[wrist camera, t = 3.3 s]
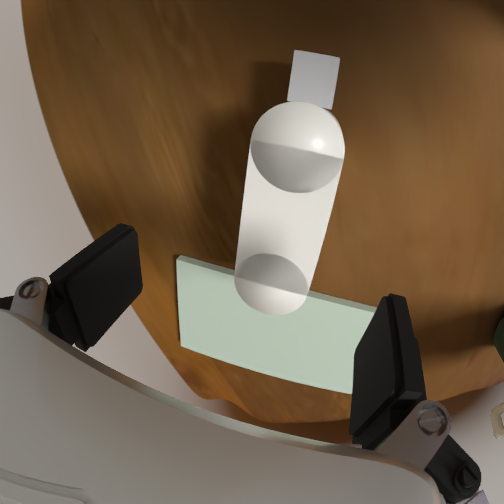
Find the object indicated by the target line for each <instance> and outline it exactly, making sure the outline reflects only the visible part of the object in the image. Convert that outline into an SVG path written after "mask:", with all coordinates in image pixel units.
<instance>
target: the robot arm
mask: <svg viewBox="0 0 504 504" xmlns="http://www.w3.org/2000/svg"><path fill="white" fill-rule="evenodd" d="M49 277H50V280H51V283H50V284H49V285H48V283H47V282H46V280H45V279H44V278H41V277H33V278H30V279H27V280H25V281H24V282H22V283H21V284H20V285H19V286H18V287H17V289H16V292H15V295H14V296H9V297H4V298H0V504H489V502H488V500H487V498H486V495H485V493H484V491H483V490H482V491H479V486H480V483H481V472H480V469H479V467H478V465H477V464H476V463H475V462H474V461H473V459H472V458H471V457H469V455H468V454H467V453H466V452H465V451H464V450H463V449H462V448H461V447H460V446H459V445H458V444H457V443H456V442H455V441H454V440H453V439H452V437H451V436H450V435H449V434H448V433H449V431H450V429H451V419H450V415H449V413H448V411H447V410H446V409H445V407H444V406H443V405H442V404H440V403H439V402H437V401H434V400H427V399H426V390H425V383H424V376H423V370H422V364H421V358H420V352H419V347H418V342H417V339H416V338H415V337H414V333H413V328H412V324H411V319H410V315H409V310H408V306H407V302H406V298H405V297H403V296H399V295H395V294H389V295H388V296H387V297H386V296H383V298H382V299H381V301H380V303H379V305H378V307H377V309H376V311H375V313H374V315H373V317H372V319H371V321H370V323H369V325H368V327H367V329H366V331H365V332H364V334H363V336H362V338H361V340H360V342H359V343H358V345H357V347H356V349H355V353H354V368H353V388H352V403H351V415H350V426H349V434H350V435H353V440H352V443H353V444H360V445H362V449H361V448H354V447H350V446H345V445H338V444H332V443H326V442H321V441H316V440H312V439H307V438H302V437H298V436H293V435H289V434H285V433H281V432H277V431H272V430H268V429H265V428H261V427H258V426H254V425H250V424H247V423H244V422H240V421H237V420H234V419H231V418H228V417H225V416H222V415H219V414H216V413H213V412H210V411H207V410H204V409H202V408H199V407H196V406H194V405H191V404H188V403H186V402H183V401H181V400H178V399H176V398H174V397H171V396H169V395H166V394H164V393H162V392H160V391H157V390H155V389H153V388H151V387H148V386H146V385H144V384H142V383H140V382H138V381H136V380H134V379H131V378H129V377H127V376H125V375H123V374H121V373H120V372H118V371H116V370H114V369H111V368H110V367H108V366H106V365H104V364H102V363H101V362H99V361H97V360H95V359H93V358H92V357H90V356H88V355H86V354H85V353H83V352H81V351H80V350H78V349H76V348H75V347H73V346H72V345H73V344H74V343H75V345H76V347H78V348H79V349H81V350H83V351H84V352H86V351H87V350H88V349H89V347H92V346H94V345H95V344H96V343H97V342H98V341H99V339H100V338H101V337H102V336H103V335H104V333H105V332H106V331H107V330H108V329H109V328H110V327H111V326H112V324H113V323H114V322H115V321H116V320H117V319H118V318H119V316H120V315H121V314H122V313H123V312H124V311H125V310H126V309H127V308H128V306H129V305H130V304H131V303H132V302H133V301H134V300H135V299H136V298H137V297H138V295H139V294H140V293H141V291H142V287H143V284H142V276H141V267H140V257H139V247H138V235H137V232H136V231H135V229H134V227H132V226H129V225H125V224H121V223H120V224H118V225H116V226H115V227H114V228H112V229H111V230H109V231H108V232H106V233H105V234H104V235H102V236H101V237H99V238H98V239H97V240H95V241H94V242H92V243H91V244H90V245H88V246H87V247H86V248H84V249H83V250H81V251H80V252H79V253H78V254H76V255H75V256H74V257H72V258H71V259H70V260H68V261H67V262H66V263H64V264H63V265H62V266H61V267H59V268H58V269H57V270H56V271H54V272H53V273H52V274H51V275H50V276H49Z"/></svg>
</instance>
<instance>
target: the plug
mask: <svg viewBox="0 0 504 504" xmlns="http://www.w3.org/2000/svg"><path fill="white" fill-rule="evenodd" d="M339 63H340V58H338V57H333V56H328V55H323V54H318V53H312V52H306V51H299V50H294V57H293V64H292V70H291V77H290V84H289V90H288V97H287V101H291V102H287V103H283V104H279V105H277V106H275V107H273V108H271V109H269V110H268V111H267V112H266V113H264V114H263V115H262V116H261V118H260V119H259V120H258V122H257V123H256V125H255V127H254V129H253V132H252V136H251V142H250V149H249V157H248V165H247V173H246V181H245V189H244V197H243V206H242V214H241V222H240V231H239V239H238V248H237V257H236V266H235V275H234V283H235V288H236V290H237V292H238V294H239V296H240V297H241V299H242V300H243V301H244V302H245V303H246V304H247V305H249V306H250V307H251V308H253V309H255V310H257V311H259V312H262V313H265V314H269V315H284V314H288V313H291V312H293V311H295V310H297V309H298V308H299V307H300V306H301V305H302V304H303V303H304V301H305V299H306V297H307V294H308V291H309V288H310V284H311V281H312V278H313V274H314V271H315V268H316V264H317V261H318V257H319V254H320V251H321V247H322V243H323V240H324V236H325V233H326V229H327V225H328V221H329V218H330V214H331V210H332V206H333V202H334V198H335V194H336V190H337V186H338V182H339V178H340V173H341V169H342V165H343V160H344V154H345V146H344V139H343V135H342V130H341V127H340V124H339V122H338V120H337V119H336V117H335V116H334V115H333V114H332V113H331V112H330V111H329V110H328V109H331V110H332V105H333V100H334V94H335V88H336V82H337V76H338V70H339ZM326 108H327V109H326Z"/></svg>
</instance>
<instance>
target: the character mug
mask: <svg viewBox="0 0 504 504" xmlns="http://www.w3.org/2000/svg"><path fill="white" fill-rule="evenodd" d="M493 343H494V345H495V347H496V349H497V351H498V353H499V355H500V356H501V358H502V360H503V362H504V317H503V318H502V319H501V321H500V322H499V324H498V326H497V329H496V331H495V333H494V340H493ZM503 412H504V403H502V404H500V405H498V406H496V407H495V408H493V409H492V410H491V421H492V426H493V432H494V436H495V438H496V439H498V438H502V437H504V426H503V423H502V418H501V414H502V413H503Z"/></svg>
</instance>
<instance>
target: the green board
mask: <svg viewBox="0 0 504 504" xmlns="http://www.w3.org/2000/svg"><path fill="white" fill-rule="evenodd" d="M176 265H177V291H178V310H179V325H180V338H181V346H182V347H185V348H188V349H190V350H193V351H196V352H199V353H201V354H204V355H207V356H210V357H213V358H216V359H219V360H222V361H225V362H228V363H231V364H234V365H237V366H240V367H244V368H247V369H250V370H254V371H257V372H260V373H264V374H267V375H271V376H275V377H278V378H282V379H286V380H290V381H294V382H298V383H302V384H306V385H310V386H315V387H319V388H324V389H328V390H333V391H338V392H343V393H348V394H352V388H353V368H354V353H355V349H356V347H357V345H358V343H359V342H360V340H361V338H362V336H363V334H364V332H365V331H366V329H367V327H368V325H369V323H370V321H371V319H372V317H373V315H374V313H375V311H376V309H377V307H374V306H369V305H365V304H361V303H357V302H353V301H349V300H345V299H341V298H338V297H334V296H330V295H326V294H322V293H318V292H314V291H310V290H309V291H308V294H307V297H306V299H305V301H304V303H303V304H302V305H301V306H300V307H299V308H298V309H297V310H295V311H293V312H291V313H288V314H284V315H269V314H265V313H262V312H259V311H257V310H255V309H253V308H251V307H250V306H249V305H247V304H246V303H245V302H244V301H243V300H242V299H241V297H240V296H239V294H238V292H237V290H236V288H235V283H234V275H235V270H232V269H229V268H225V267H222V266H218V265H214V264H211V263H207V262H204V261H200V260H197V259H193V258H190V257H186V256H183V255H180V256H179V257H178V258H177V259H176Z"/></svg>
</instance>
